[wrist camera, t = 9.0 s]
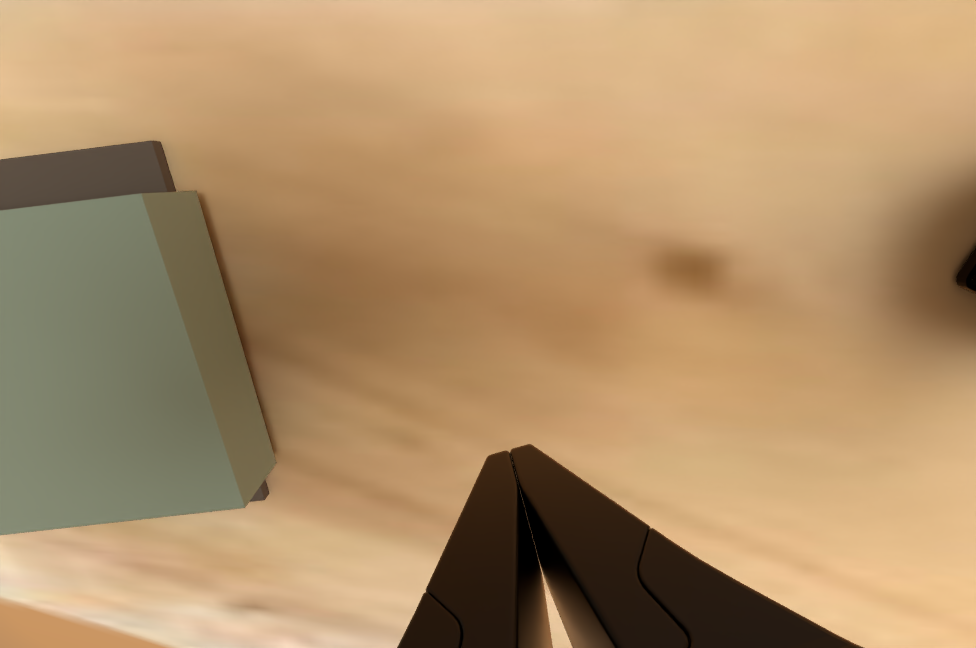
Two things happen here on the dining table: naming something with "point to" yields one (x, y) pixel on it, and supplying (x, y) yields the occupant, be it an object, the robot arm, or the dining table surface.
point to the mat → (88, 182)
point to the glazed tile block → (120, 368)
